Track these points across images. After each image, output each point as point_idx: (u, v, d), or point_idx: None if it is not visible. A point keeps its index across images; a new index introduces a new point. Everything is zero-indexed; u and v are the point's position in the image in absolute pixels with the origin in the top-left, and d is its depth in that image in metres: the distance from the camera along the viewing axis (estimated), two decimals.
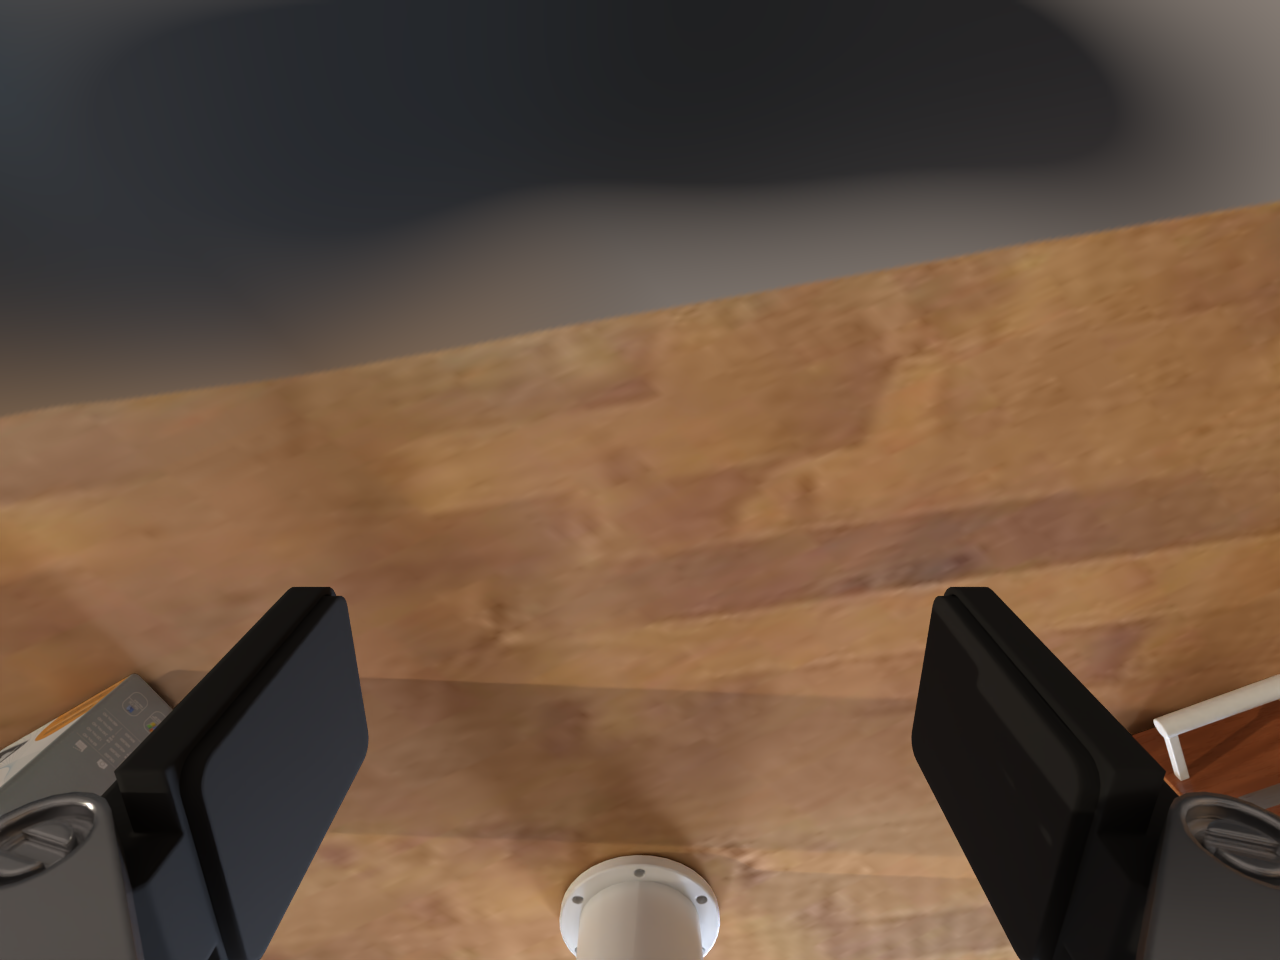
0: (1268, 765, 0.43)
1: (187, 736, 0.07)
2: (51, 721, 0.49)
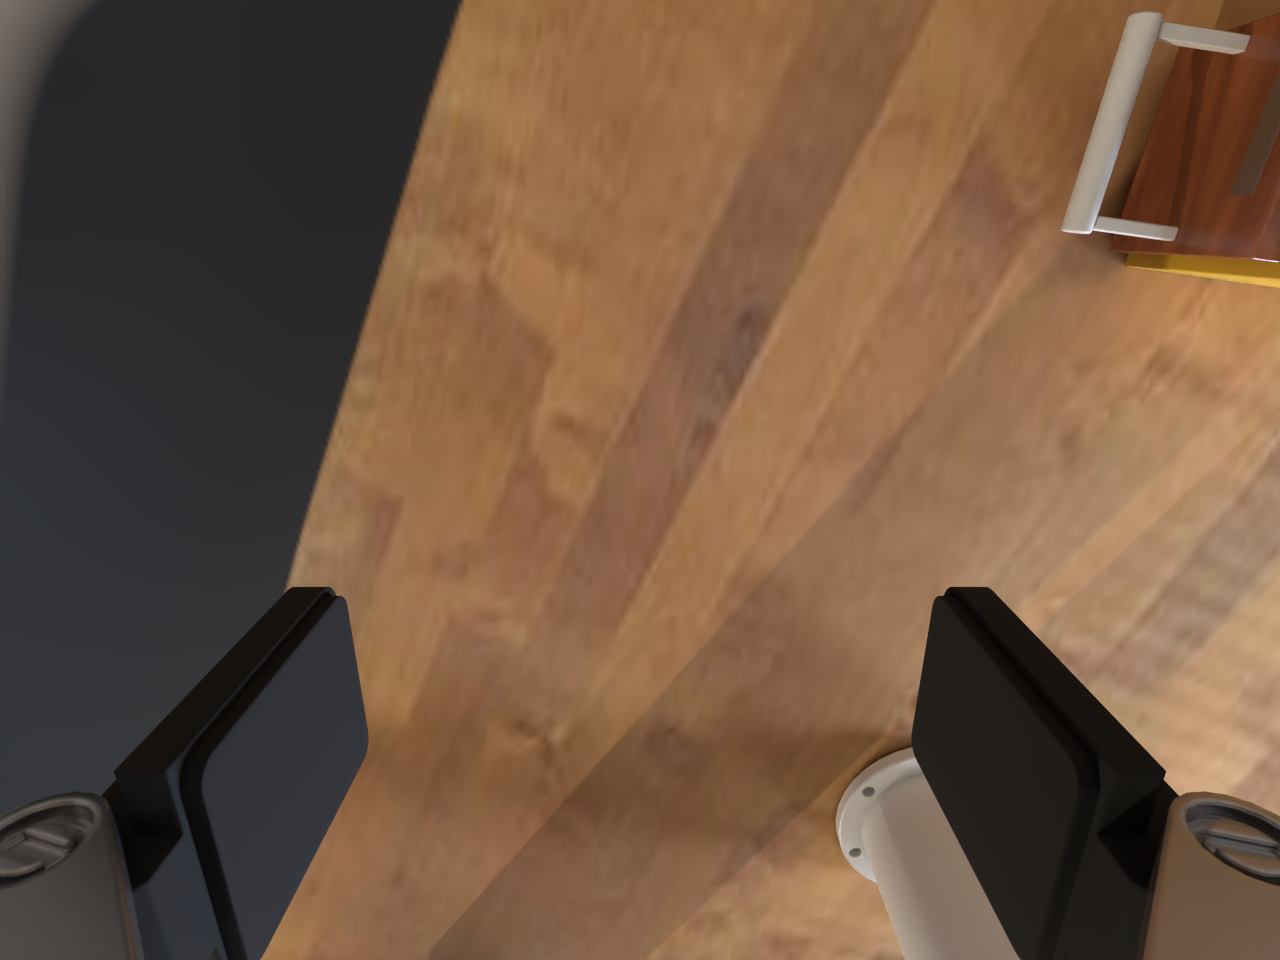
0: (1233, 124, 0.29)
1: (187, 736, 0.07)
2: None
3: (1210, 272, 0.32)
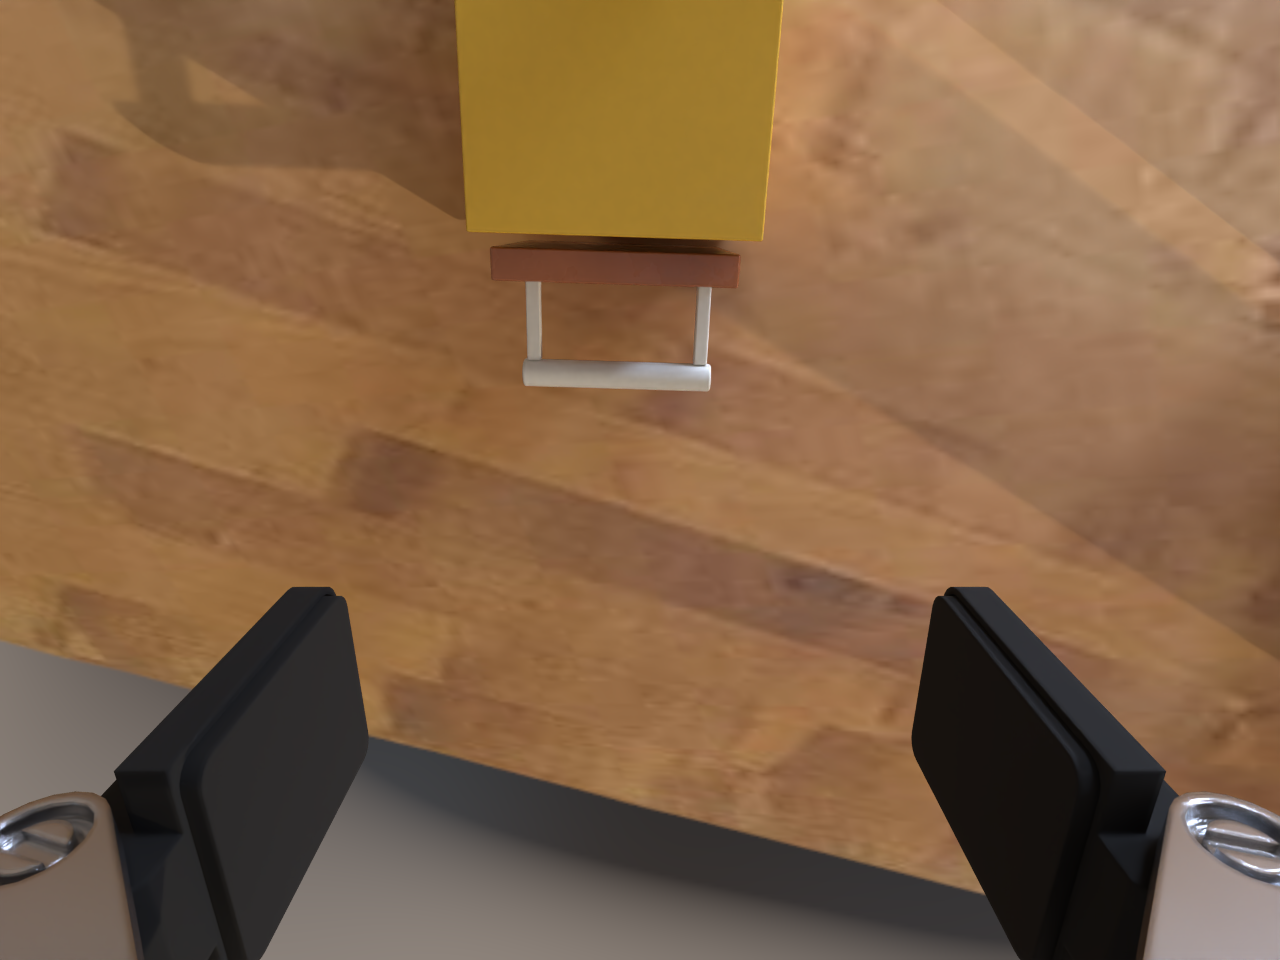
0: None
1: (187, 736, 0.07)
2: None
3: None
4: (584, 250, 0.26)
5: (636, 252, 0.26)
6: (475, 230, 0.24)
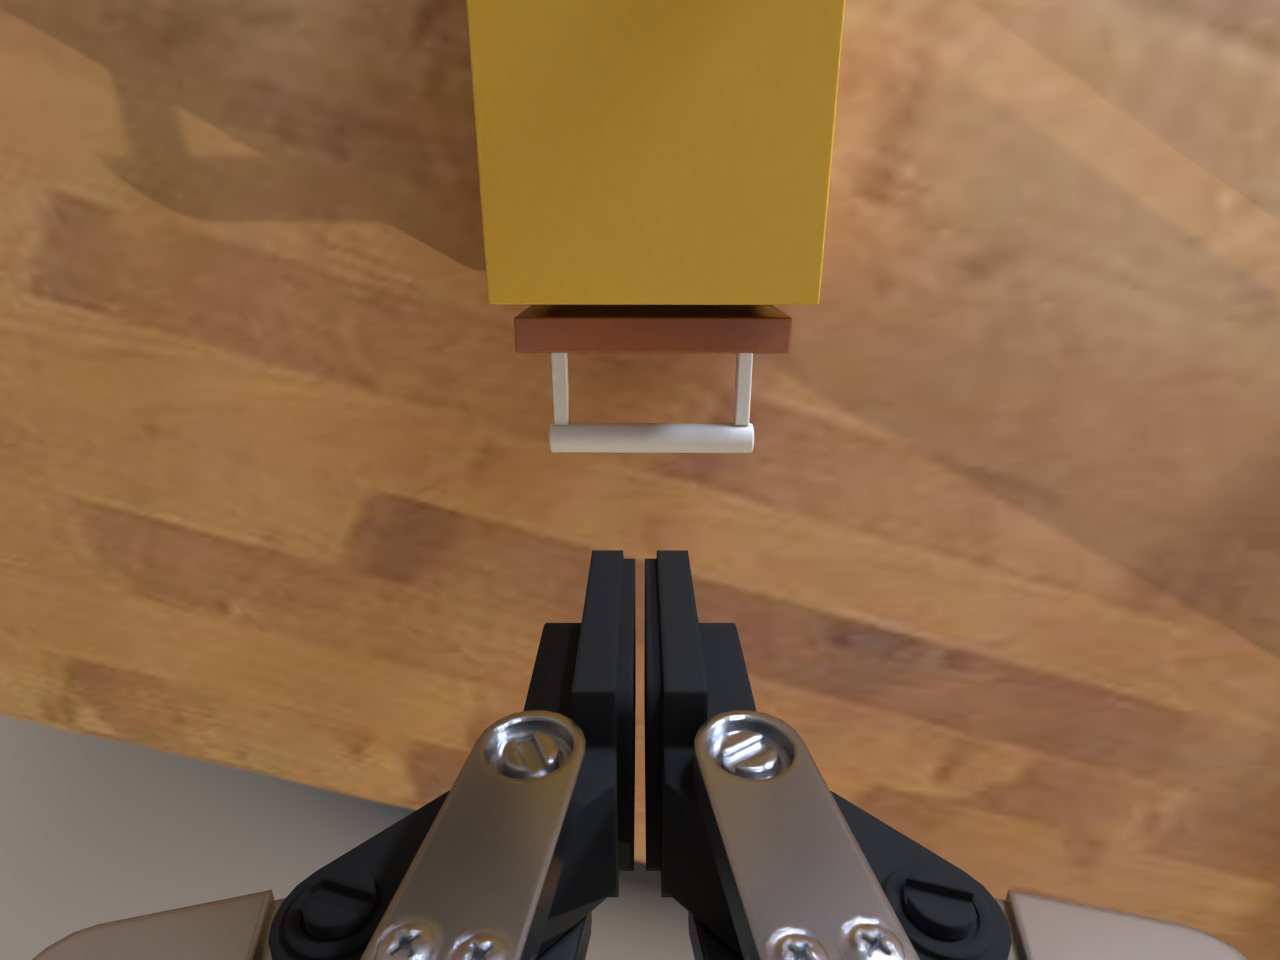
0: None
1: (608, 666, 0.08)
2: None
3: None
4: (618, 317, 0.23)
5: (676, 318, 0.23)
6: (498, 302, 0.22)
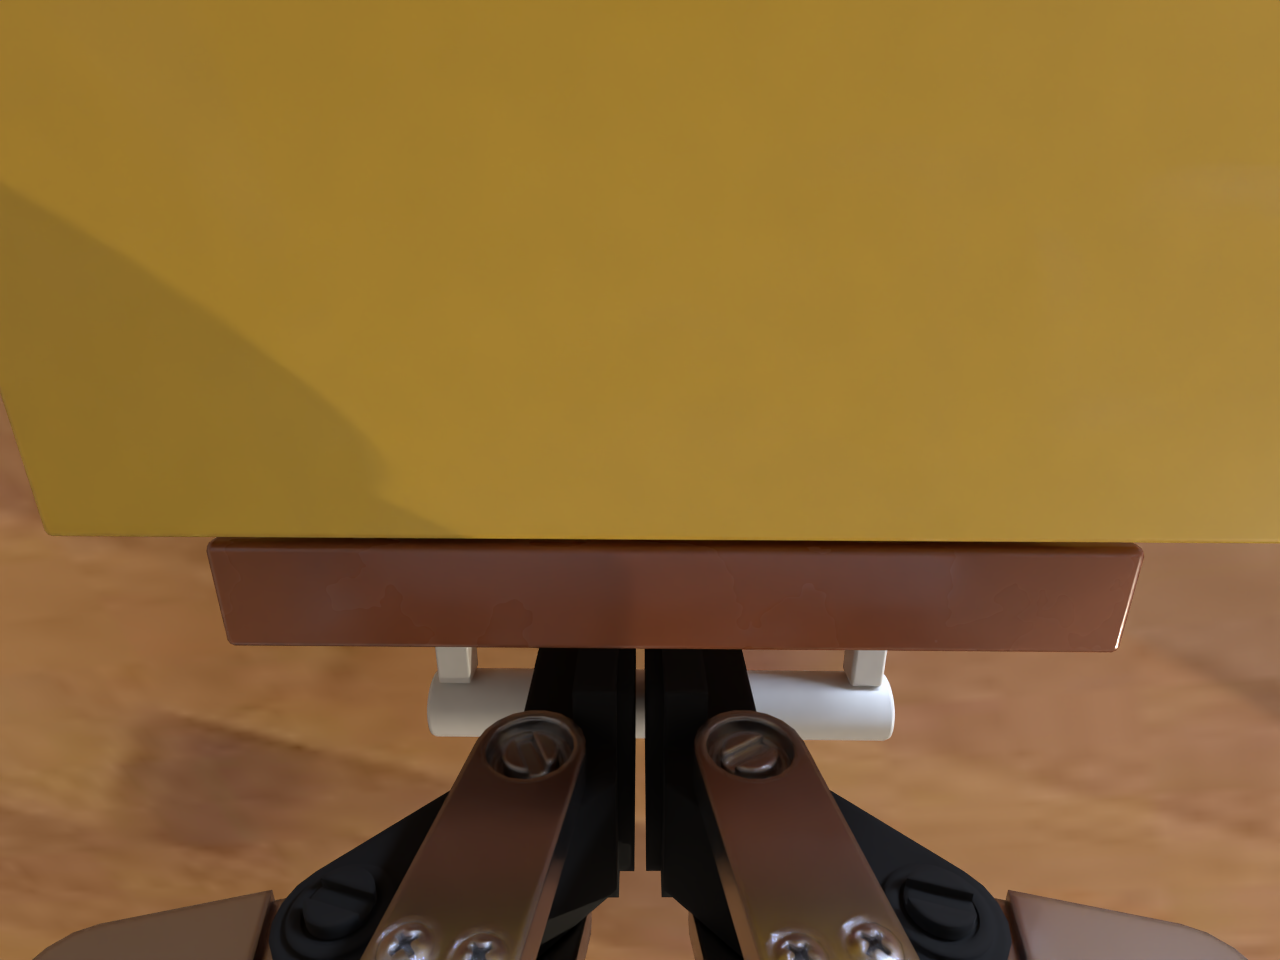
0: None
1: (609, 666, 0.08)
2: None
3: None
4: (555, 546, 0.07)
5: (750, 549, 0.07)
6: (82, 532, 0.06)
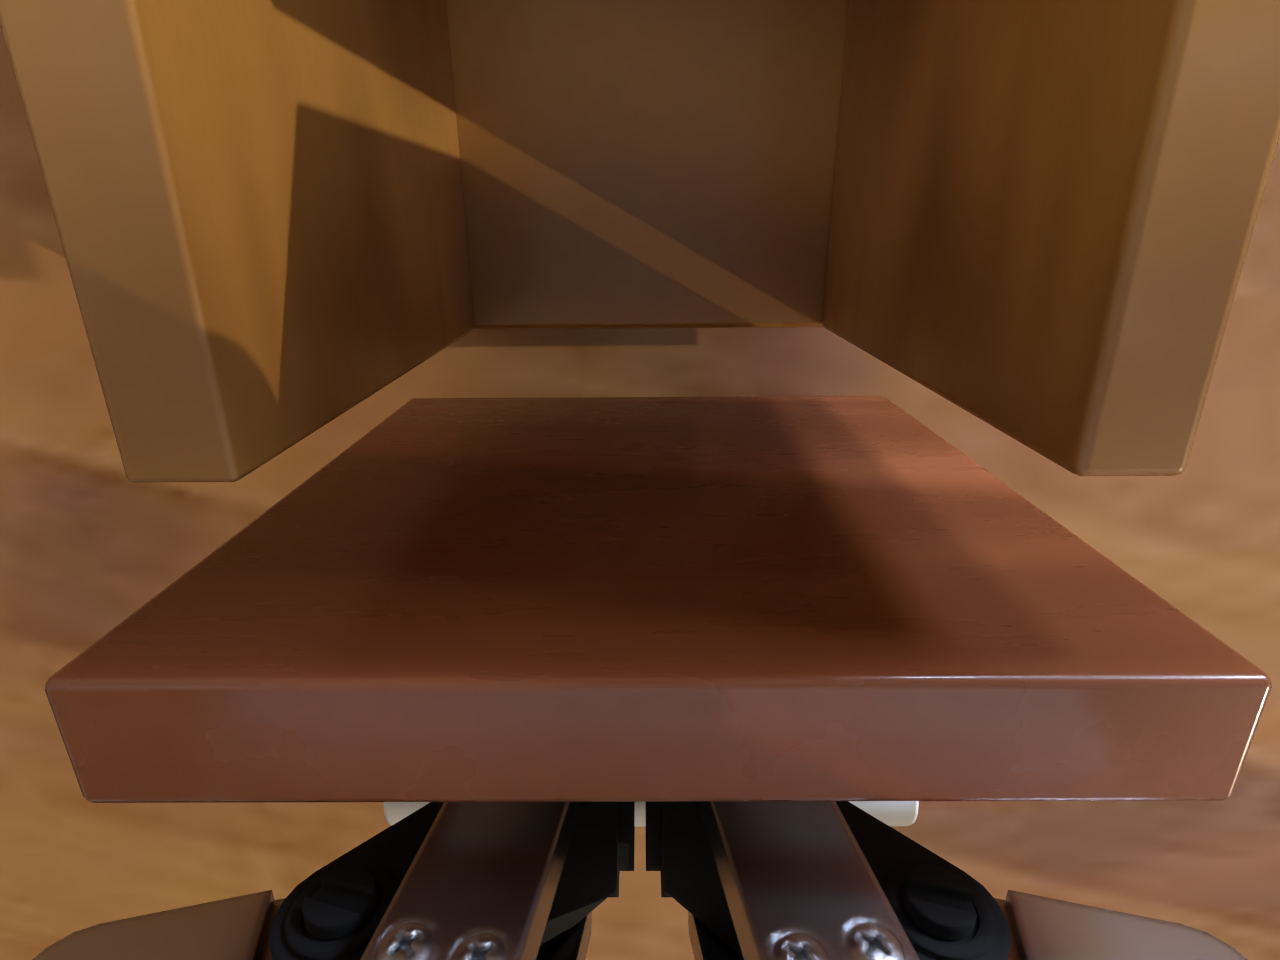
0: None
1: None
2: None
3: None
4: (503, 679, 0.05)
5: (757, 681, 0.05)
6: None
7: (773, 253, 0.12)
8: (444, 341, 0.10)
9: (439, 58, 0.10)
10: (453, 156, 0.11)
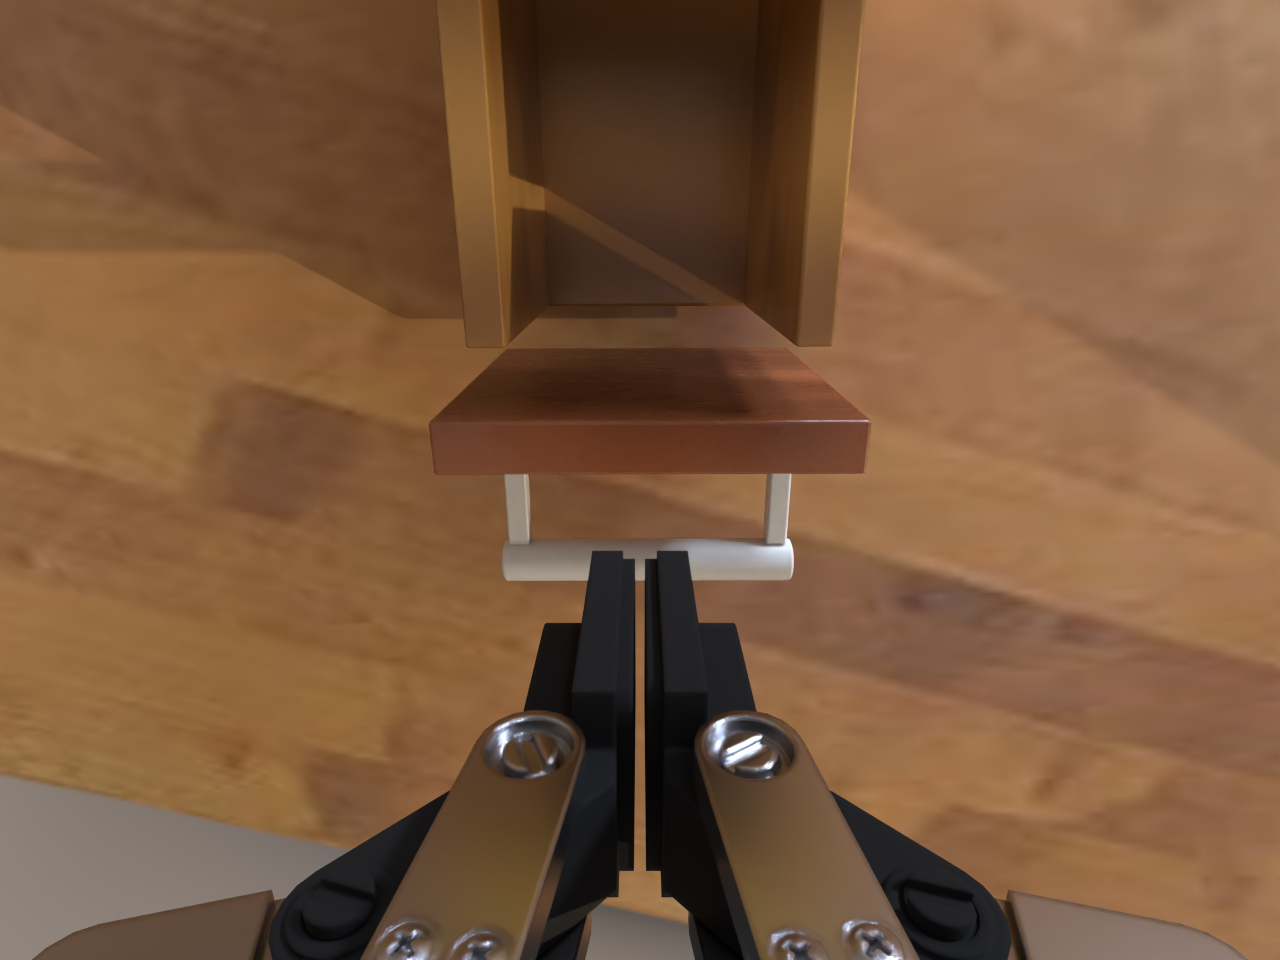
0: None
1: (608, 666, 0.08)
2: None
3: None
4: (595, 421, 0.15)
5: (687, 422, 0.15)
6: None
7: (716, 264, 0.21)
8: (540, 310, 0.19)
9: (539, 164, 0.19)
10: (543, 212, 0.20)
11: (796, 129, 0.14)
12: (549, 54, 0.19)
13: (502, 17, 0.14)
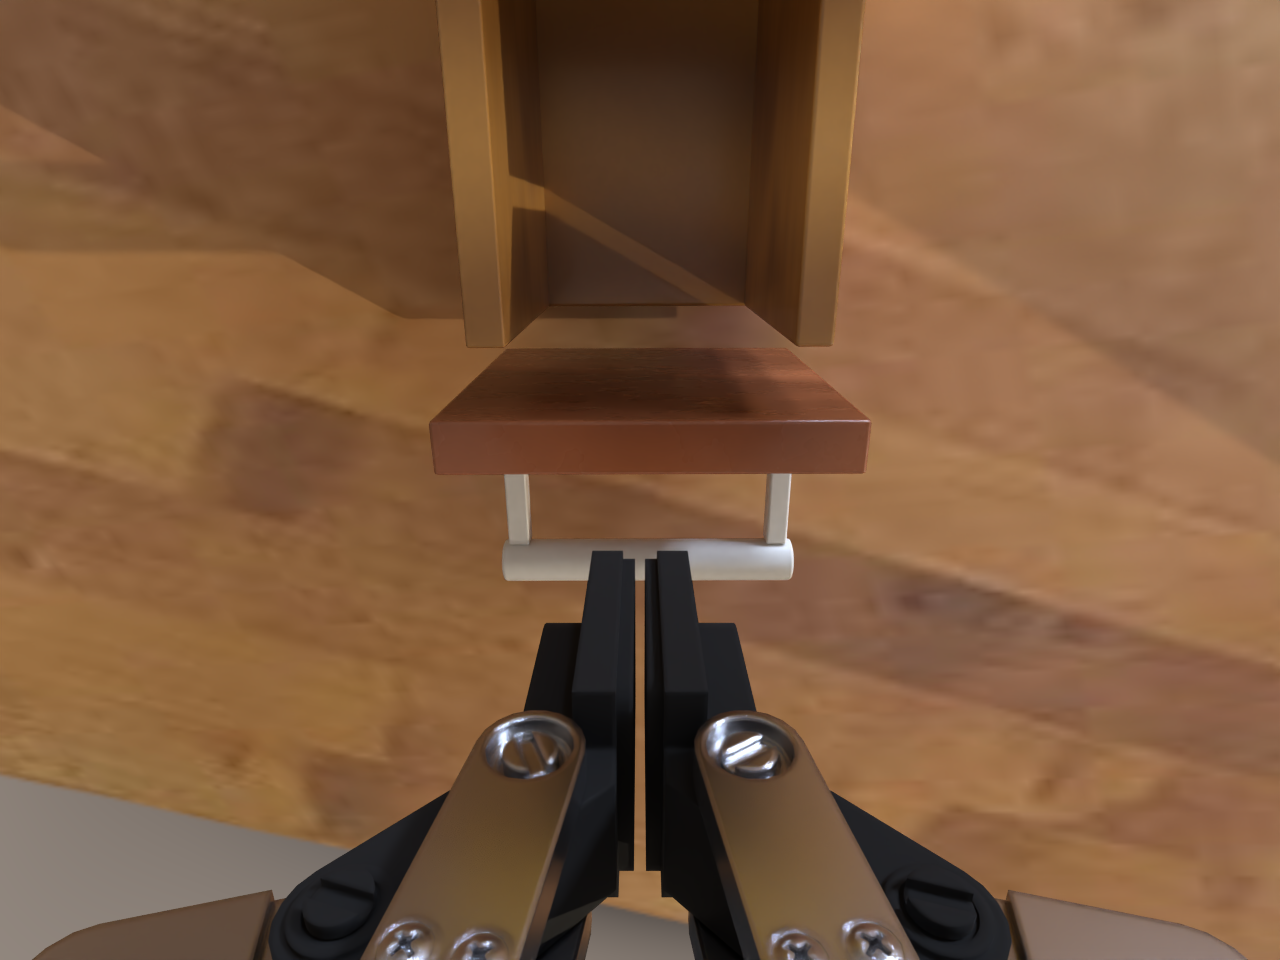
0: None
1: (608, 666, 0.08)
2: None
3: None
4: (595, 421, 0.15)
5: (687, 422, 0.15)
6: None
7: (716, 264, 0.21)
8: (540, 310, 0.19)
9: (539, 164, 0.19)
10: (543, 212, 0.20)
11: (796, 129, 0.14)
12: (549, 54, 0.19)
13: (502, 17, 0.14)
